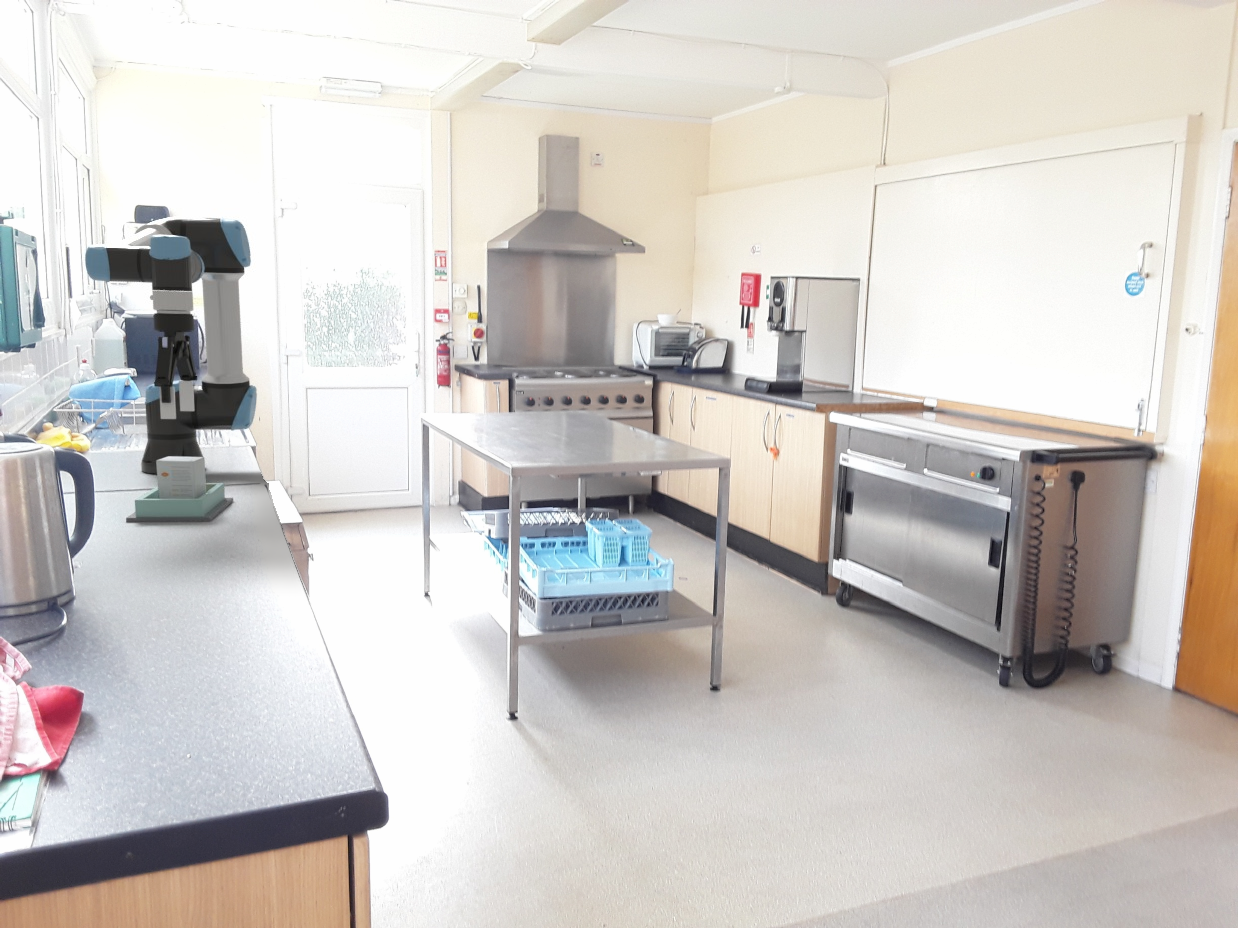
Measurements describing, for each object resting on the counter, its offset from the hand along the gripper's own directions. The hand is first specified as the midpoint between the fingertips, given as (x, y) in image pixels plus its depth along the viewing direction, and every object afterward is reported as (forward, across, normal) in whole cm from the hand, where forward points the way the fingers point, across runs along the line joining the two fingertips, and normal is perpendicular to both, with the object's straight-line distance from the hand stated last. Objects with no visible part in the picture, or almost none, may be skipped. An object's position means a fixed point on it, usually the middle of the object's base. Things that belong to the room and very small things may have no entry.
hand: (178, 415), depth 198 cm
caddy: (+21, 0, 0) cm, 21 cm away
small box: (+20, 0, 0) cm, 20 cm away
